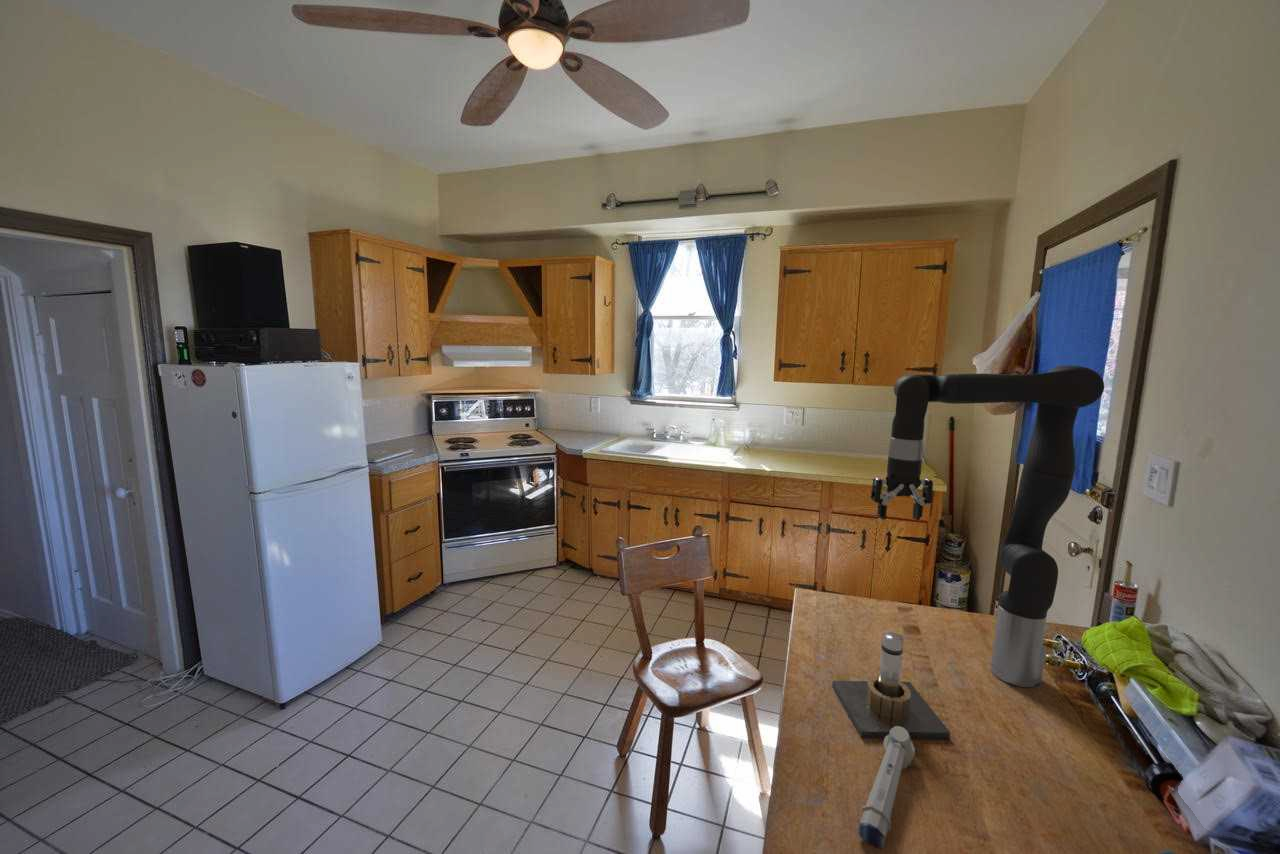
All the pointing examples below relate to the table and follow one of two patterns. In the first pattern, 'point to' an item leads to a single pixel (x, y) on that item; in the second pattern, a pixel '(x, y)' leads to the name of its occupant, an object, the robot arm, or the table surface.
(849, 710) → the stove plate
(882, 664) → the silver tall cylinder
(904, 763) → the grey faceted piece
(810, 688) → the table surface
